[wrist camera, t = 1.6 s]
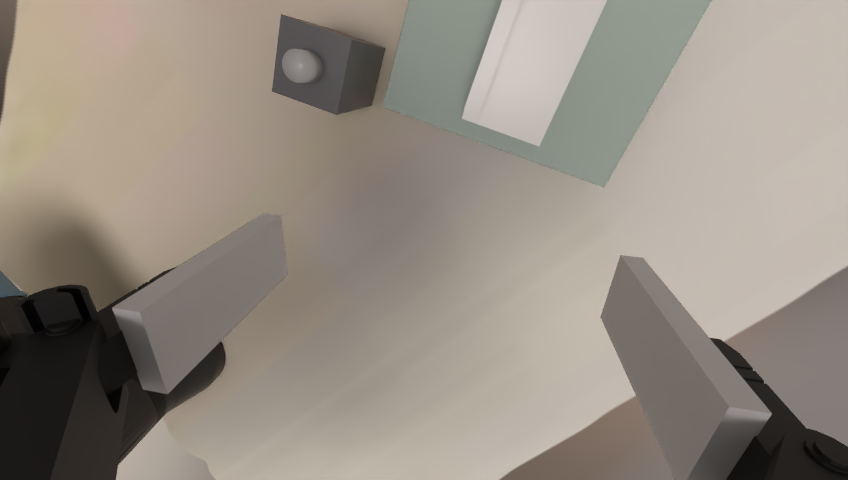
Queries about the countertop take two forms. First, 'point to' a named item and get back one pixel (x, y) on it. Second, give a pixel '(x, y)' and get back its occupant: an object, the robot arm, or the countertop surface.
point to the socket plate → (584, 96)
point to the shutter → (529, 64)
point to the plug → (325, 67)
